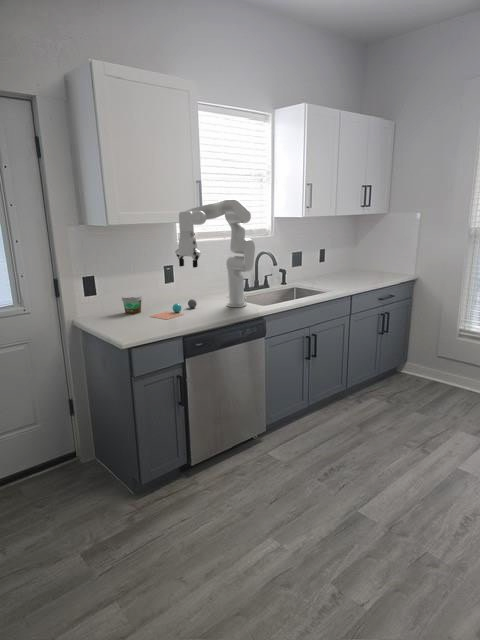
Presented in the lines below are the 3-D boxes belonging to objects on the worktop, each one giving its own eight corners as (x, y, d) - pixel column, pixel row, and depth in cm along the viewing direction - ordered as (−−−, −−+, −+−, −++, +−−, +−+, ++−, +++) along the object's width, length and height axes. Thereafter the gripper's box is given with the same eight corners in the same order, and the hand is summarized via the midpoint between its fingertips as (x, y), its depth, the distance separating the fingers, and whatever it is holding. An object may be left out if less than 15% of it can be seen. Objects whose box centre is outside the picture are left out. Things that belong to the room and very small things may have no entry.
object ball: (177, 311, 265) (176, 302, 264) (183, 312, 262) (183, 303, 261) (170, 312, 261) (170, 303, 259) (177, 313, 258) (177, 305, 256)
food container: (120, 315, 258) (119, 298, 255) (123, 312, 264) (121, 296, 261) (141, 314, 258) (140, 298, 256) (143, 312, 264) (142, 296, 261)
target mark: (166, 311, 264) (166, 311, 264) (183, 314, 256) (183, 314, 256) (149, 316, 253) (149, 316, 252) (167, 319, 245) (167, 319, 245)
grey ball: (192, 306, 276) (191, 298, 275) (198, 307, 273) (198, 299, 272) (186, 308, 272) (185, 299, 270) (192, 309, 269) (192, 300, 267)
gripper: (203, 234, 230) (205, 266, 235) (179, 234, 240) (181, 265, 244) (194, 235, 224) (196, 268, 229) (170, 235, 234) (172, 266, 238)
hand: (188, 266), depth 236 cm, fingers open, 9 cm apart
